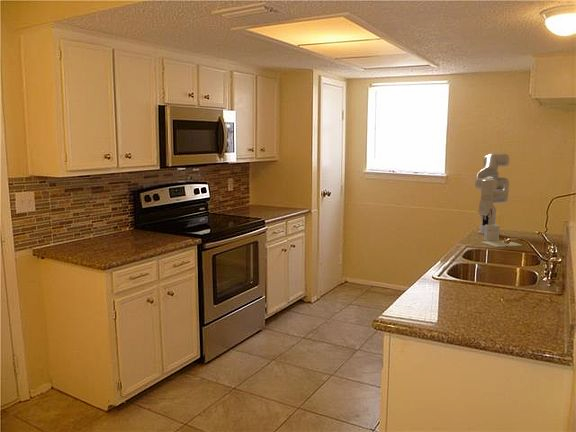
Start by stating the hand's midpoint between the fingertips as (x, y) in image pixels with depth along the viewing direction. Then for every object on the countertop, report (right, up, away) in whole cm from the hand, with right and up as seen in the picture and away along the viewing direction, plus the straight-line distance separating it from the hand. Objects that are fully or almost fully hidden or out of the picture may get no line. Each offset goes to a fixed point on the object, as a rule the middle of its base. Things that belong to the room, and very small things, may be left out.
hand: (485, 225), depth 332 cm
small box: (+2, -10, -6) cm, 12 cm away
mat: (+4, -12, -17) cm, 21 cm away
